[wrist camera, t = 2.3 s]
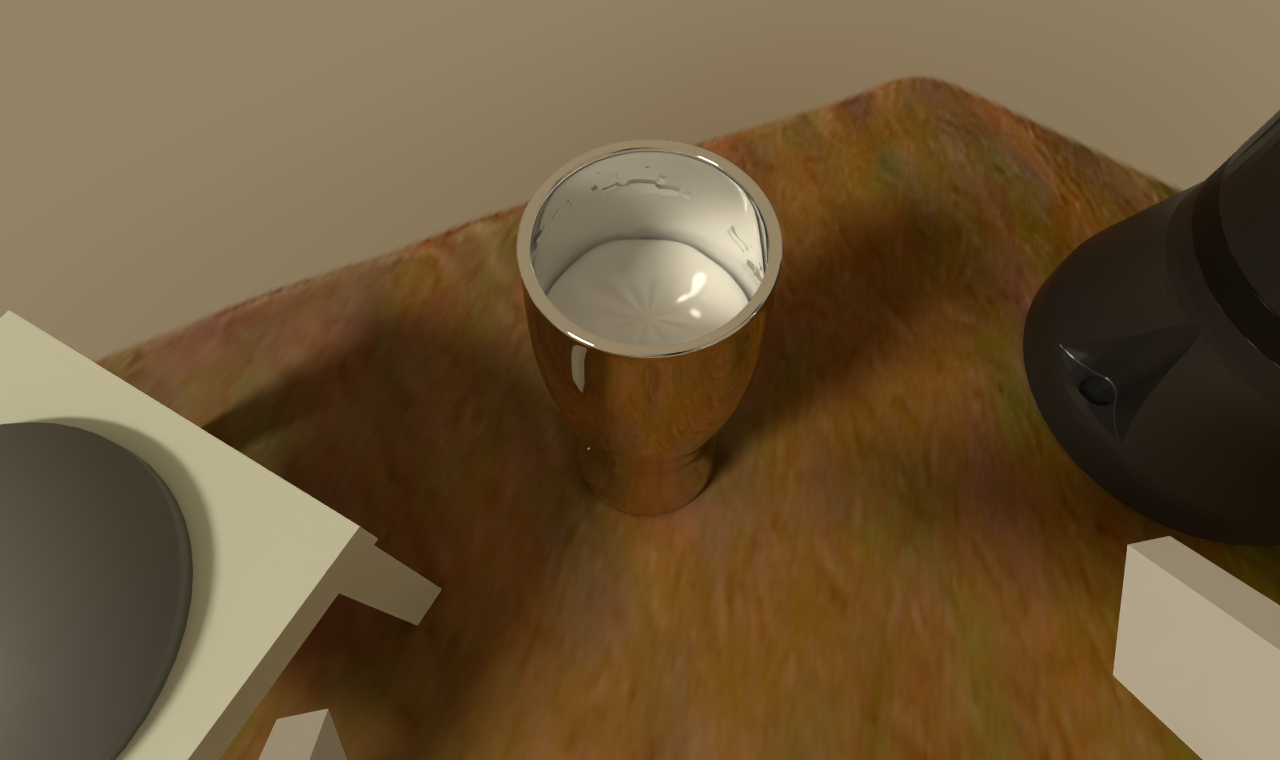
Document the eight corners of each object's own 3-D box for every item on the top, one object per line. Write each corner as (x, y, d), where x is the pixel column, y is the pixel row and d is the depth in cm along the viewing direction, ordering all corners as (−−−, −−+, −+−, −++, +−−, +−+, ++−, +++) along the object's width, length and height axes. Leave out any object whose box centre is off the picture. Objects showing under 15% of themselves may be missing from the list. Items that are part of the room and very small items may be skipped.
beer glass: (652, 348, 33) (660, 91, 20) (759, 455, 31) (851, 249, 17) (533, 441, 31) (450, 227, 18) (638, 562, 29) (635, 425, 15)
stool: (449, 587, 28) (351, 520, 19) (195, 971, 23) (-116, 1148, 14) (190, 427, 31) (-7, 299, 22) (-86, 736, 26) (-503, 746, 17)
